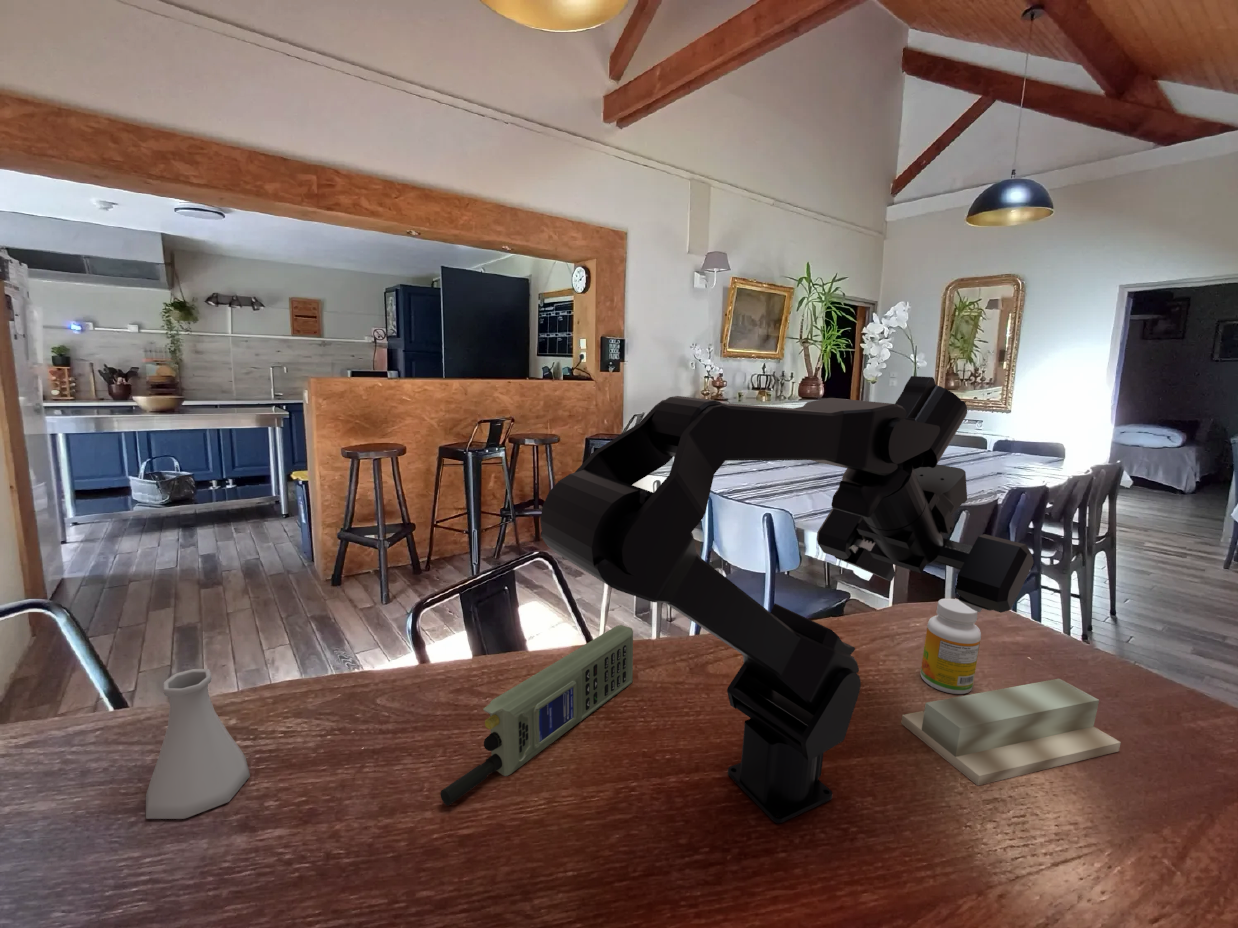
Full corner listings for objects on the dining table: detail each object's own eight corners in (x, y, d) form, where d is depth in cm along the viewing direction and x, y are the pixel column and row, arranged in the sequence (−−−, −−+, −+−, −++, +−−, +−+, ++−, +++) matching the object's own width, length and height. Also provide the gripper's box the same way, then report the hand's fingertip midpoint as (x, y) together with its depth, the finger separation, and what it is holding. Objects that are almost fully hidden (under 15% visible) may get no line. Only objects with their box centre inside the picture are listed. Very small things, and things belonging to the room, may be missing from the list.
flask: (163, 768, 50) (149, 662, 48) (259, 751, 52) (250, 650, 50) (126, 833, 43) (109, 713, 41) (239, 810, 45) (228, 696, 44)
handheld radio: (637, 684, 65) (458, 823, 45) (614, 675, 67) (432, 804, 47) (638, 629, 64) (454, 746, 44) (614, 621, 66) (428, 730, 46)
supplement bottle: (921, 665, 71) (932, 591, 69) (972, 678, 68) (984, 602, 67) (918, 685, 67) (929, 607, 65) (972, 701, 64) (986, 620, 62)
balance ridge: (977, 785, 51) (984, 745, 50) (901, 723, 59) (906, 688, 59) (1118, 751, 56) (1126, 714, 56) (1030, 698, 65) (1036, 666, 64)
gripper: (1045, 455, 48) (1067, 557, 56) (843, 427, 62) (885, 512, 71) (989, 563, 44) (1022, 654, 53) (790, 507, 59) (841, 585, 68)
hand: (933, 591), depth 61 cm, fingers open, 9 cm apart
